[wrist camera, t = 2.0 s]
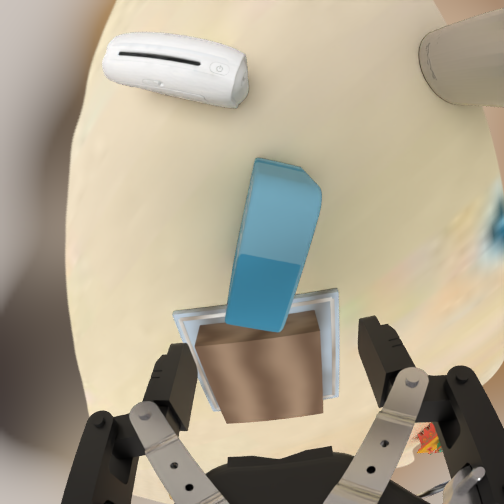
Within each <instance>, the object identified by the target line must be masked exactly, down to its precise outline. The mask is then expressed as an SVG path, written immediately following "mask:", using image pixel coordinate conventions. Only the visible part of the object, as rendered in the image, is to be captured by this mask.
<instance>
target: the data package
mask: <svg viewBox="0 0 504 504" xmlns="http://www.w3.org/2000/svg"><path fill="white" fill-rule="evenodd" d="M321 201H322V193H321V189H320V187H319V186H318V185H317V184H316V183H315V182H314V181H313V180H312V179H311V177H310V176H309V175H308V174H307V173H306V172H305V171H304V170H303V169H302V168H301V167H298V166H294V165H290V164H285V163H281V162H277V161H272V160H267V159H263V158H256V159H255V162H254V166H253V171H252V175H251V180H250V185H249V189H248V194H247V199H246V204H245V209H244V213H243V218H242V223H241V228H240V233H239V238H238V243H237V248H236V252H235V258H234V263H233V269H232V275H231V282H230V288H229V295H228V302H227V308H226V315H225V323H226V324H230V325H235V326H241V327H247V328H253V329H259V330H265V331H271V332H281V331H282V329H283V328H284V325H285V323H286V320H287V317H288V314H289V311H290V308H291V305H292V302H293V299H294V296H295V293H296V289H297V286H298V283H299V280H300V277H301V274H302V270H303V267H304V264H305V261H306V257H307V254H308V251H309V248H310V244H311V241H312V238H313V234H314V231H315V227H316V224H317V220H318V217H319V213H320V208H321Z"/></svg>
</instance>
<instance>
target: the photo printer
mask: <svg viewBox="0 0 504 504" xmlns="http://www.w3.org/2000/svg"><path fill="white" fill-rule="evenodd" d="M102 66H103V72H104V74H105V76H106V77H107V78H108V79H109V80H111V81H114V82H116V83H118V84H122V85H127V86H130V87H137V88H141V89H145V90H149V91H153V92H156V93H160V94H165V95H169V96H173V97H178V98H183V99H187V100H192V101H196V102H201V103H206V104H211V105H215V106H220V107H226V108H237V107H238V104H240V103H241V102H242V101H243V100H244V99H245V98H246V96H247V94H248V90H249V84H248V68H247V59H246V55H245V54H244V53H243V52H241V51H239V50H237V49H235V48H232V47H230V46H227V45H224V44H221V43H217V42H213V41H209V40H205V39H201V38H196V37H190V36H185V35H178V34H170V33H158V32H132V33H126V34H121V35H118V36H116V37H115V38H113V39H112V40H111V41H110V43H109V44H108V46H107V51H106V54H105V57H104V58H103V61H102Z"/></svg>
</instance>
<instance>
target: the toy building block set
mask: <svg viewBox="0 0 504 504" xmlns="http://www.w3.org/2000/svg"><path fill="white" fill-rule="evenodd" d="M423 431H424V434H423V433H419V434H418V437H419V439H420V442H421V444H422V445H421V448H420V449H419V450H418V452H417V453H424V452H428V454H430V455H431V454H432V453H433V451H434V450H435V449H436V448H437V450H435V453H437V452H443V450H442V447H441V444H440V441H439V439H438V436H437V433H436V430H435V427H434V424H433V422H431V423H430V429H429V428H425V429H424V430H423Z"/></svg>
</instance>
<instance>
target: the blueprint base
mask: <svg viewBox="0 0 504 504" xmlns="http://www.w3.org/2000/svg"><path fill="white" fill-rule="evenodd" d="M226 308H227V305H221V306H213V307H205V308H196V309H187V310H178V311H174V312H173V314H172V315H173V318H174V320H175V323H176V326H177V328H178V331H179V333H180V336H181V338H182V341H183V343H187V344H188V346H189V348H190V351H191V353H192V356H193V358H194V360H195V363H196V366H197V370H198V379H199V381H200V383H201V386H202V388H203V390H204V392H205V395H206V397H207V399H208V401H209V403H210V405H211V408H212V410H213V411H221V412H222V414H223V416H224V419H225V421H226V423H227V424H228V423H245V422H258V421H269V420H278V419H286V418H294V417H301V416H308V415H314V414H320V413H323V400H324V399H330V398H335V397H338V396H339V294H338V290H337V288H335V289H329V290H323V291H317V292H311V293H305V294H298V295H295V296H294V299H293V302H292V305H291V308H290V311H289V314H288V317H287V320H286V323H285V325H284V328H283V329H282V331H281V332H271V331H265V330H259V329H253V328H247V327H241V326H235V325H230V324H226V323H225V315H226Z"/></svg>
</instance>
